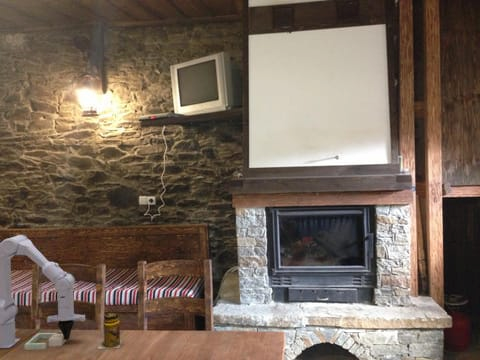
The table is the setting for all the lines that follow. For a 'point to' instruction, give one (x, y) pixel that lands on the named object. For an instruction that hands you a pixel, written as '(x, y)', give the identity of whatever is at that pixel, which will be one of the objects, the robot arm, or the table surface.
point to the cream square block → (57, 340)
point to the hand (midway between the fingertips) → (67, 338)
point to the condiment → (111, 332)
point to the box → (32, 344)
